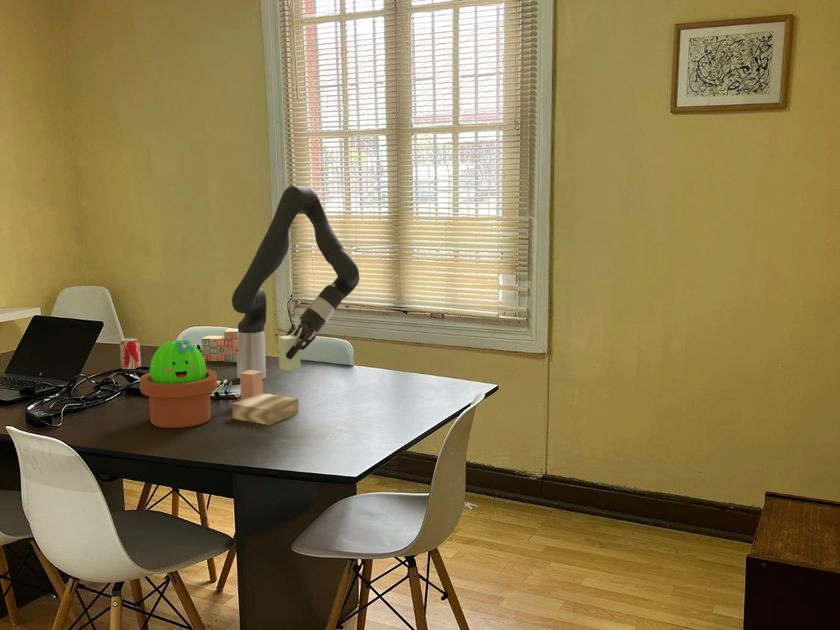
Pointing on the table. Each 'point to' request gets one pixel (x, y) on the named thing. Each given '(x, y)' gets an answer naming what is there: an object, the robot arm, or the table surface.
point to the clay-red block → (251, 383)
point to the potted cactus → (178, 386)
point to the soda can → (130, 353)
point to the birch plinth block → (265, 408)
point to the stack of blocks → (221, 347)
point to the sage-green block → (284, 347)
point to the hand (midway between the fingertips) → (284, 355)
